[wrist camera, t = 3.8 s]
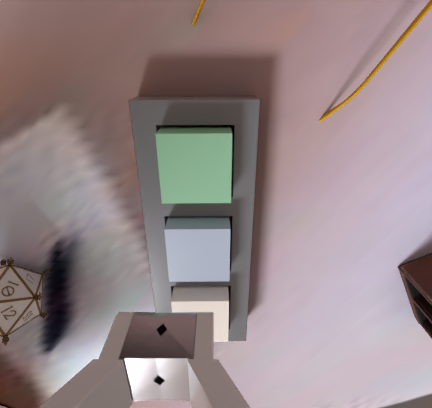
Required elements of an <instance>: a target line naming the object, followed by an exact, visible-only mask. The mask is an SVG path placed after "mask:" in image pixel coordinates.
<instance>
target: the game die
mask: <svg viewBox="0 0 432 408" xmlns="http://www.w3.org/2000/svg"><path fill="white" fill-rule="evenodd" d="M13 261H14V260H13V259H12V258H10V259H8V262H7V263H8V264H7V265H5V264H6V260H4V259H3V260H2V261H1V262H0V263H1V266H0V336H2V337H3V339H2V340H3V341H2V342H3V343H4V344H5V345H6V344H7V342H8V341H9V338H8V335H9V334H11V333H12V332H14V331H16V330H17V329H19V328H20V327H22V326H23V325H25V324H26V323H28V322H29V321H31V320H33V319H34V318H36V317H37V316H39V315H40V316H41V317H43V318H44V317H48V316H47V313H44V312H43V313H42V290H43V276H44V275H46V274H48V273H49V271H50V270H45V271H43V273H38V272H35V271H31V270H28V269H25V268H22V267H18V266H15V265H12V264H13V263H14V262H13Z"/></svg>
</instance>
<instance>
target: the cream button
mask: <svg viewBox="0 0 432 408" xmlns="http://www.w3.org/2000/svg"><path fill="white" fill-rule="evenodd" d="M171 307H172V312H197V313H198V312H213V314H214V342H228V328H229V293H228V286H174V288H173V293H172V299H171Z"/></svg>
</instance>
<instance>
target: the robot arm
mask: <svg viewBox="0 0 432 408" xmlns="http://www.w3.org/2000/svg"><path fill="white" fill-rule="evenodd" d="M154 400H169V401H191V405H192V407H193V408H250V407H249V405H248V404H247V402H246V401H245V399H244V398H243V396H242V395H241V393H240V392H239V390H238V389H237V387H236V386H235V384H234V383H233V381H232V380H231V378H230V377H229V375H228V374H227V372H226V371H225V369H224V368H223V366H222V365H221V363H220V362H219V360H218V359H214V314H213V312H198V313H197V312H167V313H151V312H119V313H118V314H117V316H116V317H115V320H114V322H113V325H112V327H111V329H110V332H109V334H108V337H107V339H106V342H105V344H104V347H103V349H102V352H101V354H100V357H99V359H93V360H92V361H91V362H90V363H89V364H88V365H87V366H85V367H84V368H83V369H82V370H81V371H80V372H79V373H77V374H76V375H75V376H74V377H73V378H72V379H71V380H70V381H68V382H67V383H66V384H65V385H64V386H63V387H62V388H60V389H59V390H58V391H57V392H56V393H55V394H54V395H52V396H51V397H50V398H49V399H48V400H47V401H46V402H45V403H43V404H42V405H41V406H40V407H39V408H129V407H130V406H131V405H132V401H154ZM0 408H6V407H4V406H1V405H0Z"/></svg>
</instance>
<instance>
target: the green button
mask: <svg viewBox="0 0 432 408" xmlns="http://www.w3.org/2000/svg"><path fill="white" fill-rule="evenodd" d="M155 136H156V146H157V157H158V168H159V179H160V189H161V200H162V204H170V203H231V178H232V130H231V127H230V126H198V127H161V128H160V129H159V130H158V131H157V132H156V134H155Z"/></svg>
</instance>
